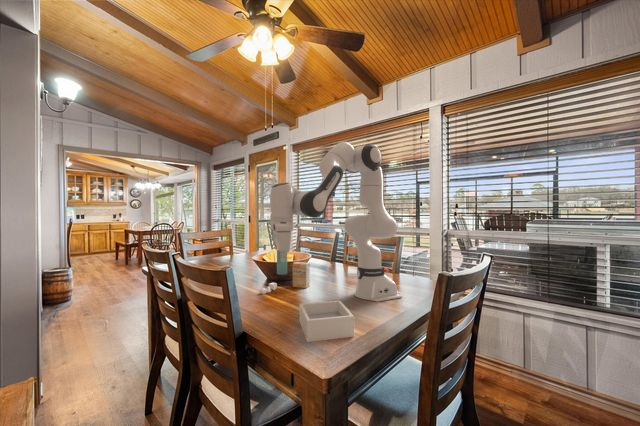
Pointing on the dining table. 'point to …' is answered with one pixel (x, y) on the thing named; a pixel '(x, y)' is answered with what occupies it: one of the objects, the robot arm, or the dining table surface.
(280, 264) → the peg
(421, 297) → the dining table surface
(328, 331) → the peg box
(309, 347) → the dining table surface
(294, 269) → the supplement box
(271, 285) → the game pieces
